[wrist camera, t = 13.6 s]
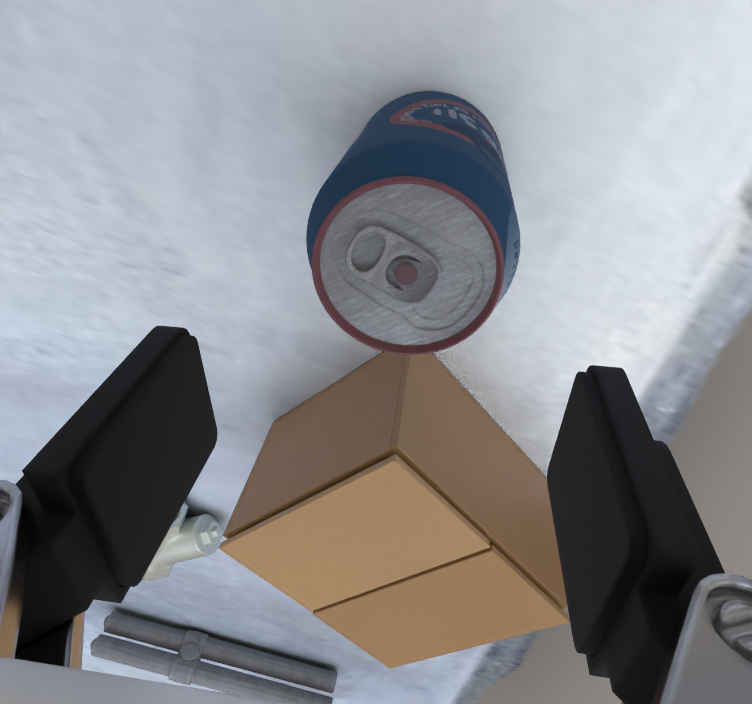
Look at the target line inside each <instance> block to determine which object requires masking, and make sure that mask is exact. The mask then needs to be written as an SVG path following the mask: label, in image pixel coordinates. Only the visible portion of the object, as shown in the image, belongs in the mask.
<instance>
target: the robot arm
mask: <svg viewBox="0 0 752 704" xmlns="http://www.w3.org/2000/svg"><path fill="white" fill-rule="evenodd" d="M216 441H217V427H216V422H215V418H214V413H213V409H212V404H211V400H210V395H209V391H208V386H207V382H206V377H205V373H204V368H203V364H202V359H201V355H200V350H199V346H198V342H197V339H196V338H195V337H194V336H190V334H189V332H188V330H187V329H185V328H179V327H168V326H156V327H155V328H153V329H152V330H151V331H150V332H149V334H148V335H147V336H146V337H145V338H144V339H143V340H142V341H141V342H140V343H139V344H138V345H137V347H136V348H135V349H134V350H133V351H132V352H131V353H130V354H129V355H128V356H127V357H126V358H125V360H124V361H123V362H122V363H121V364H120V365H119V366H118V367H117V368H116V369H115V370H114V372H113V373H112V374H111V375H110V376H109V377H108V378H107V379H106V380H105V381H104V382H103V383H102V385H101V386H100V387H99V388H98V389H97V390H96V391H95V392H94V393H93V394H92V395H91V396H90V398H89V399H88V400H87V401H86V402H85V403H84V404H83V405H82V406H81V407H80V408H79V409H78V411H77V412H76V413H75V414H74V415H73V416H72V417H71V418H70V419H69V420H68V421H67V422H66V424H65V425H64V426H63V427H62V428H61V429H60V430H59V431H58V432H57V433H56V434H55V435H54V437H53V438H52V439H51V440H50V441H49V442H48V443H47V444H46V445H45V446H44V447H43V448H42V450H41V451H40V452H39V453H38V454H37V455H36V456H35V457H34V458H33V459H32V460H31V462H30V463H29V464H28V465H27V466H26V467H25V468H24V469H23V470H22V472H23V473H24V476H23V477H22V478H21V479H20V480H19V481H18V482H17V483H16V484H13V483H11V482H9V481H6V480H0V704H286V703H280V702H274V701H268V700H262V699H256V698H250V697H244V696H238V695H232V694H226V693H221V692H215V691H209V690H203V689H197V688H191V687H185V686H179V685H173V684H167V683H161V682H154V681H148V680H142V679H136V678H130V677H124V676H118V675H111V674H105V673H99V672H93V671H87V670H81V667H82V650H83V633H84V616H85V611H86V610H87V609H88V608H89V606H90V604H91V603H92V601H93V599H95V600H102V601H109V602H115V603H121V602H122V600H123V599H124V597H125V595H126V593H127V592H128V590H129V588H130V586H132V587H134V586H136V585H138V584H139V583H140V581H141V580H142V578H143V577H144V575H145V573H146V571H147V569H148V567H149V566H150V564H151V562H152V560H153V558H154V556H155V555H156V553H157V551H158V549H159V547H160V546H161V544H162V542H163V540H164V538H165V536H166V535H167V533H168V531H169V529H170V527H171V525H172V524H173V522H174V520H175V518H176V516H177V514H178V513H179V511H180V509H181V507H182V505H183V504H184V502H185V500H186V498H187V496H188V494H189V493H190V491H191V489H192V487H193V485H194V483H195V482H196V480H197V478H198V476H199V474H200V473H201V471H202V469H203V467H204V465H205V463H206V462H207V460H208V458H209V456H210V454H211V452H212V451H213V449H214V447H215V444H216ZM547 486H548V492H549V498H550V504H551V510H552V516H553V522H554V528H555V534H556V540H557V546H558V552H559V558H560V564H561V570H562V576H563V582H564V587H565V593H566V599H567V605H568V611H569V617H570V623H571V629H572V635H573V641H574V646H575V649H576V651H577V652H578V653H583V654H586V658H587V663H588V669H589V674H590V675H593V676H599V677H606V678H610V682H611V687H612V691H613V692H614V693H615V695H617V696H618V698H619V699H620V700H622V704H752V580H750V579H748V578H745V577H743V576H738V575H732V574H726V573H725V572H724V570H723V568H722V566H721V563H720V561H719V559H718V556H717V555H716V552H715V550H714V548H713V545H712V543H711V541H710V539H709V536H708V534H707V532H706V530H705V528H704V525H703V523H702V521H701V519H700V516H699V514H698V512H697V510H696V507H695V505H694V503H693V501H692V498H691V496H690V494H689V492H688V489H687V487H686V485H685V483H684V481H683V478H682V476H681V474H680V472H679V469H678V467H677V465H676V463H675V460H674V458H673V456H672V454H671V451H670V450H669V448H668V447H667V445H666V444H665V443H664V442H662V441H656V440H653V437H652V435H651V432H650V430H649V428H648V425H647V423H646V421H645V418H644V416H643V413H642V411H641V409H640V406H639V404H638V402H637V399H636V397H635V395H634V392H633V390H632V387H631V385H630V383H629V380H628V378H627V376H626V373H625V371H624V370H623V369H622V368H616V367H605V366H594V365H591V366H589V368H588V369H587V371H586V372H578V373H577V375H576V377H575V380H574V383H573V387H572V390H571V393H570V397H569V400H568V403H567V407H566V410H565V413H564V417H563V420H562V423H561V427H560V430H559V433H558V437H557V440H556V443H555V447H554V450H553V453H552V457H551V460H550V463H549V467H548V472H547Z"/></svg>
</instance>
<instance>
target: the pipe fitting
mask: <svg viewBox="0 0 752 704" xmlns="http://www.w3.org/2000/svg"><path fill="white" fill-rule="evenodd" d="M187 510H188V506H187V505H186V503H185V502H184V504H183V505H182V507H181V509H180V511H179V513H178V514H177V516H176V518H175V520H174V522H173V524H172V525H171V527H170V529H169V531H168V533H167V535H166V536H165V538H164V540H163V542H162V544H161V546H160V547H159V549H158V551H157V553H156V555H155V556H154V558H153V560H152V562H151V564H150V566H149V567H148V569H147V571H146V573H145V575H144V577H143V578H142V579H143V580H144V581H148V580H154V579H158V578H162V577H165V576H168V575H169V574H170V571H171V569H172V567H173V564H174V563H177V562H182V561H186V560H190V559H194V558H199V557H203V556H208V555H211V554H213V553H214V552H215V551H216V550H217V549H218V547H219V544H220V539H221V537H222V535H223V528H222V526H220V525H219V523H218V522H217V521H216V519H215V518H214V517H213V516H211V515H209V514H203V515H199V516H195V517H191V518H188V519H185V517H186V514H187Z"/></svg>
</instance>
